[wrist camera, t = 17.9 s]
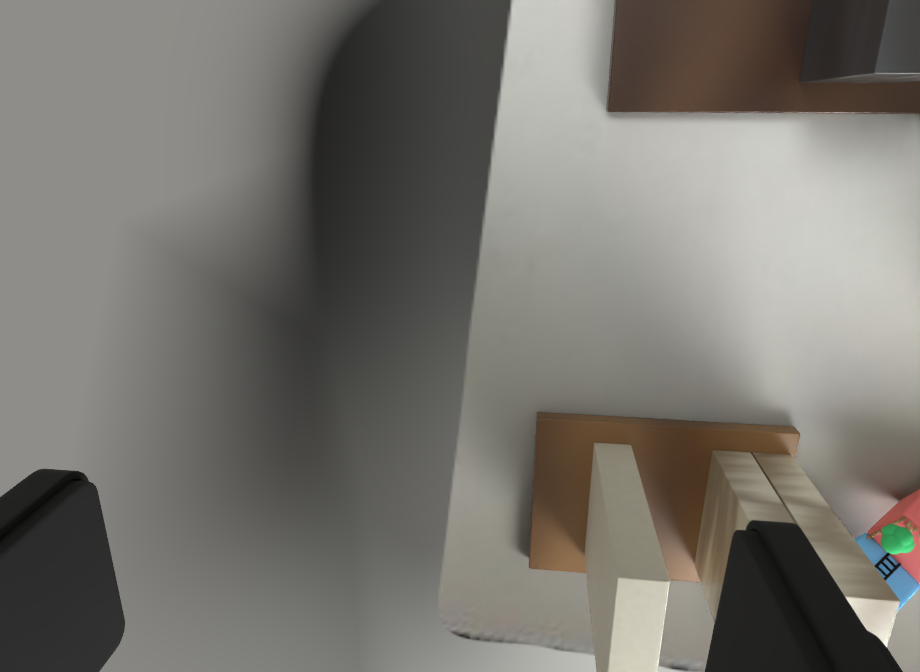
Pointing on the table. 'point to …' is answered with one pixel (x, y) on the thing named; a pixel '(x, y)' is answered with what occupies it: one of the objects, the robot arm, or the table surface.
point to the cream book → (623, 566)
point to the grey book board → (765, 56)
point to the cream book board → (696, 500)
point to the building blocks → (897, 547)
